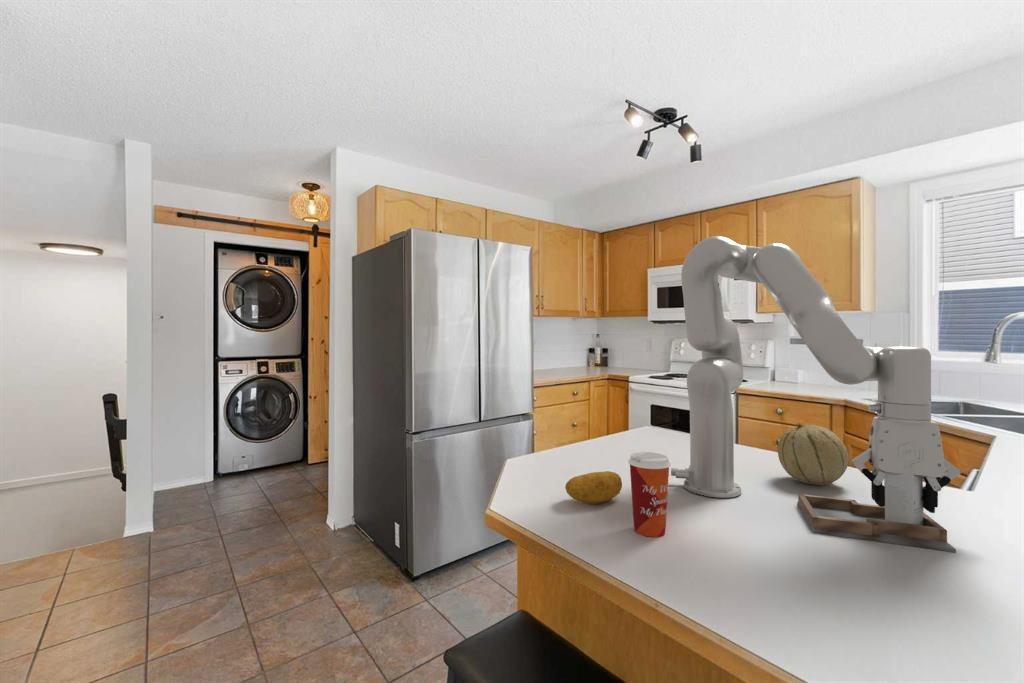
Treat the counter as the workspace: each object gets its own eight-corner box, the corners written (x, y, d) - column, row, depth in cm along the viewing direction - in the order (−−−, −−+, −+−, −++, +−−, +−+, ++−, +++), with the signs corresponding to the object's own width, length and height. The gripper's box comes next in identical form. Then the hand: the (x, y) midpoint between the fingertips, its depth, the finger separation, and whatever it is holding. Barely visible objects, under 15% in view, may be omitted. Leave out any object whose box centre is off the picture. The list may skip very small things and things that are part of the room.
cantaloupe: (865, 491, 105) (864, 427, 105) (810, 494, 102) (809, 429, 102) (813, 473, 119) (812, 417, 119) (764, 476, 117) (763, 419, 117)
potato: (631, 504, 97) (630, 473, 97) (575, 512, 92) (575, 479, 92) (611, 492, 104) (611, 464, 104) (559, 500, 100) (558, 470, 100)
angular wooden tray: (813, 532, 82) (813, 518, 82) (797, 503, 97) (797, 492, 97) (956, 552, 74) (955, 537, 74) (914, 517, 89) (914, 505, 89)
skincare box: (914, 534, 79) (914, 467, 79) (882, 526, 83) (882, 461, 83) (925, 527, 83) (925, 462, 83) (894, 518, 87) (894, 457, 87)
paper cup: (649, 543, 78) (648, 463, 78) (619, 527, 85) (619, 454, 85) (681, 534, 82) (680, 458, 82) (650, 519, 88) (649, 449, 88)
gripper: (853, 412, 83) (853, 507, 83) (976, 418, 76) (976, 522, 76) (841, 406, 90) (841, 494, 90) (954, 412, 83) (954, 507, 83)
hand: (903, 506), depth 83 cm, fingers closed on skincare box, 6 cm apart
